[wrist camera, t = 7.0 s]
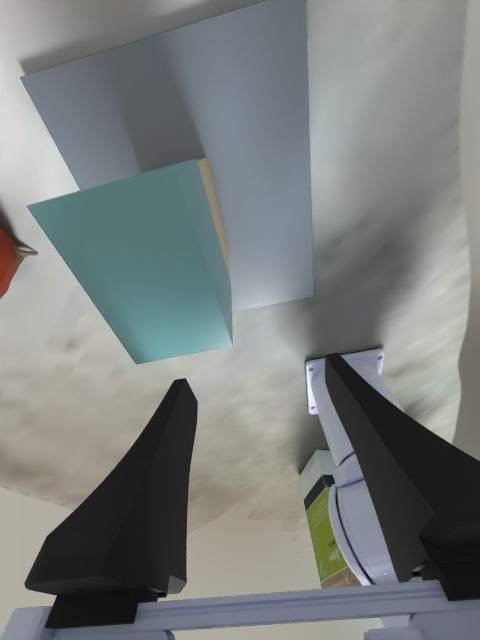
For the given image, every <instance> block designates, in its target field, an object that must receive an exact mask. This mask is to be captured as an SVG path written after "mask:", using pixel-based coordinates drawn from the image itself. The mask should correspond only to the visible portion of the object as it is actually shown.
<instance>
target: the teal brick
mask: <svg viewBox="0 0 480 640" xmlns="http://www.w3.org/2000/svg"><path fill="white" fill-rule="evenodd" d="M27 208H28V209H29V211H30V212H31V214H32V215H33V217H34V218H35V219H36V221H37V222H38V224H39V225H40V227H41V228H42V229H43V231H44V232H45V234H46V235H47V237H48V238H49V240H50V241H51V242H52V244H53V245H54V247H55V248H56V250H57V251H58V253H59V254H60V255H61V257H62V258H63V260H64V261H65V263H66V264H67V265H68V267H69V268H70V270H71V271H72V273H73V274H74V276H75V277H76V278H77V280H78V281H79V283H80V284H81V286H82V287H83V289H84V290H85V291H86V293H87V294H88V296H89V297H90V299H91V300H92V302H93V303H94V304H95V306H96V307H97V309H98V310H99V312H100V313H101V314H102V316H103V317H104V319H105V320H106V322H107V323H108V325H109V326H110V327H111V329H112V330H113V332H114V333H115V335H116V336H117V338H118V339H119V340H120V342H121V343H122V345H123V346H124V348H125V349H126V351H127V352H128V353H129V355H130V356H131V358H132V359H133V361H134V362H135V363H136V364H141V363H146V362H151V361H156V360H162V359H167V358H172V357H177V356H182V355H187V354H193V353H198V352H203V351H208V350H213V349H219V348H224V347H229V346H233V338H232V292H231V282H230V278H229V275H228V271H227V268H226V264H225V260H224V257H223V253H222V249H221V246H220V242H219V238H218V235H217V231H216V227H215V224H214V220H213V216H212V213H211V209H210V205H209V202H208V198H207V194H206V191H205V187H204V183H203V180H202V176H201V172H200V169H199V165H198V161H197V158H196V159H192V160H188V161H185V162H181V163H177V164H174V165H170V166H166V167H163V168H159V169H156V170H152V171H148V172H145V173H141V174H137V175H134V176H130V177H126V178H123V179H119V180H116V181H112V182H108V183H105V184H101V185H98V186H94V187H91V188H87V189H84V190H80V191H77V192H73V193H70V194H66V195H63V196H59V197H56V198H52V199H49V200H45V201H42V202H38V203H35V204H31V205H28V206H27Z"/></svg>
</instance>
